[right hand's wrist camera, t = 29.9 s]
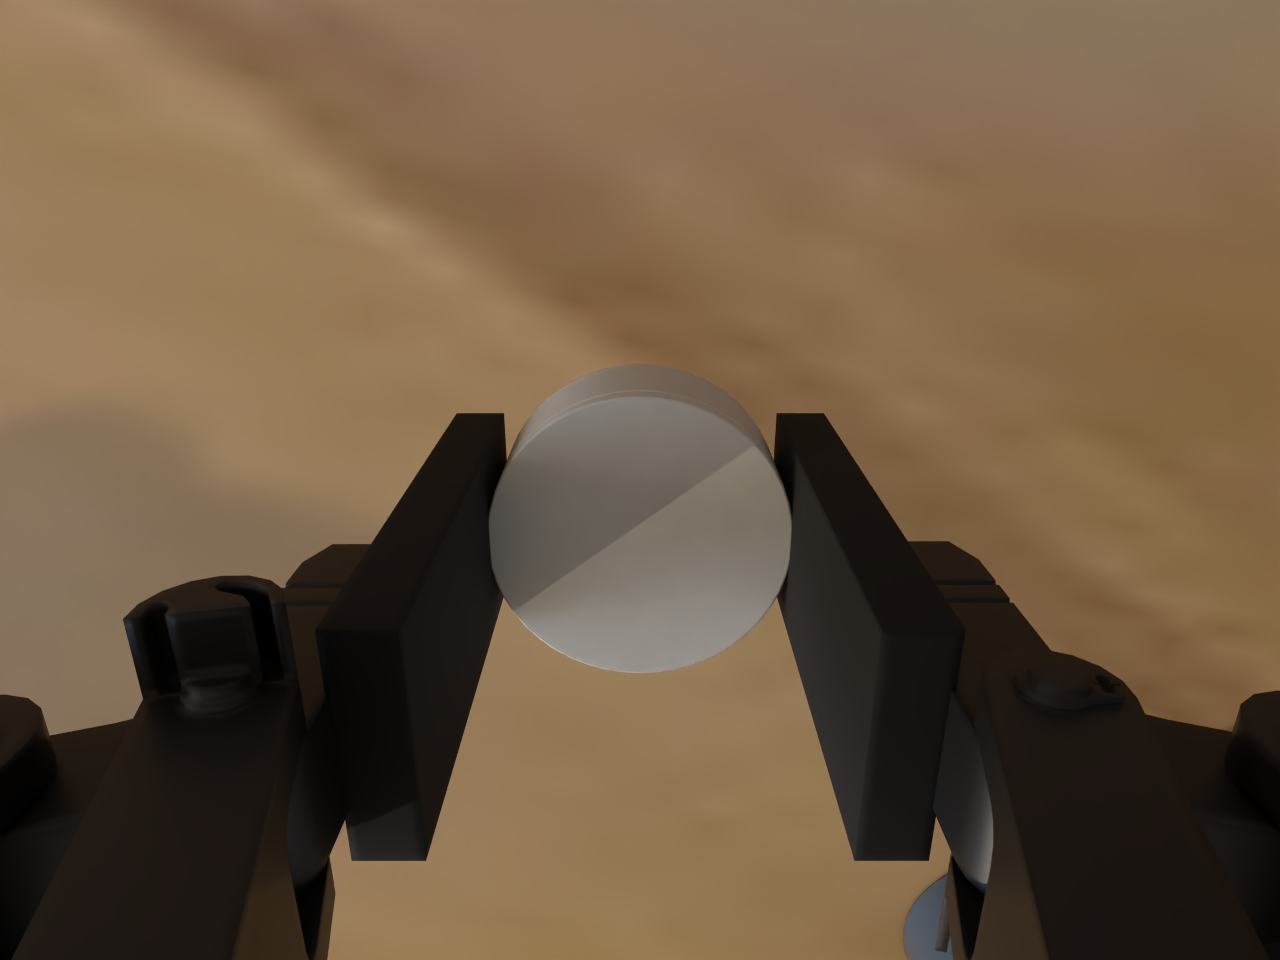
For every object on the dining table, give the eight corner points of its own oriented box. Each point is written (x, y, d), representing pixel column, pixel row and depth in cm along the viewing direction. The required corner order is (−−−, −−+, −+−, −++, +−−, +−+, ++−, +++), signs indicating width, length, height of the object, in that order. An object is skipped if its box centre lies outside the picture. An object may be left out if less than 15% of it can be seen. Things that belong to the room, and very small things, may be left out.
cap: (810, 399, 14) (834, 437, 12) (733, 635, 15) (745, 699, 14) (533, 334, 13) (517, 363, 12) (484, 583, 15) (463, 641, 13)
